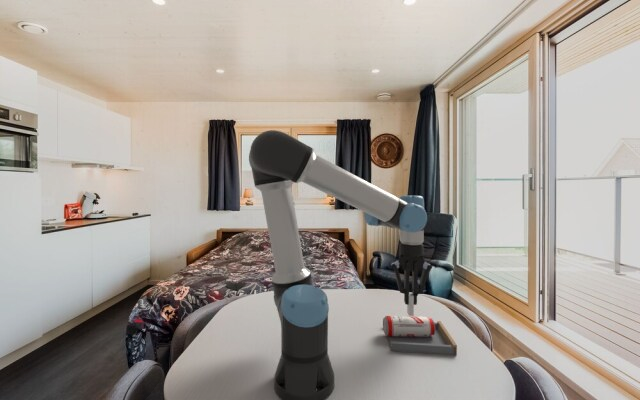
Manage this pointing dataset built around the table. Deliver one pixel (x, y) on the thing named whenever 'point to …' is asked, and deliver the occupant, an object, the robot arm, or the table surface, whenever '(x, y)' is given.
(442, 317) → the table surface
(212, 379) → the table surface
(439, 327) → the tray
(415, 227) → the robot arm
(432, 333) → the beer can
